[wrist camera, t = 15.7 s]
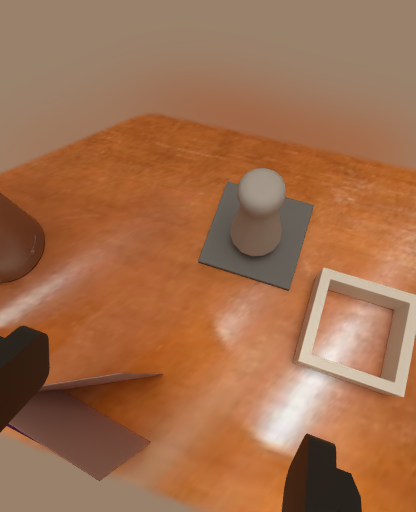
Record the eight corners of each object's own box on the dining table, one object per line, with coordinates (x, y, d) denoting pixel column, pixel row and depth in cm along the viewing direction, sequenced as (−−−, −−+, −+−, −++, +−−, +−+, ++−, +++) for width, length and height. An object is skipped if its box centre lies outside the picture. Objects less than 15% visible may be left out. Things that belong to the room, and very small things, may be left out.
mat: (198, 262, 44) (198, 260, 44) (227, 183, 47) (227, 181, 47) (288, 290, 42) (289, 289, 42) (312, 207, 45) (313, 205, 45)
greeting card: (57, 397, 41) (-40, 408, 26) (92, 335, 42) (19, 315, 28) (146, 450, 38) (92, 494, 24) (179, 383, 40) (148, 386, 26)
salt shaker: (222, 251, 44) (217, 202, 31) (240, 210, 45) (242, 148, 33) (269, 269, 43) (282, 225, 30) (286, 226, 44) (305, 168, 32)
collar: (292, 362, 40) (298, 360, 36) (315, 277, 43) (323, 267, 39) (387, 395, 38) (403, 397, 34) (405, 304, 41) (422, 297, 37)
